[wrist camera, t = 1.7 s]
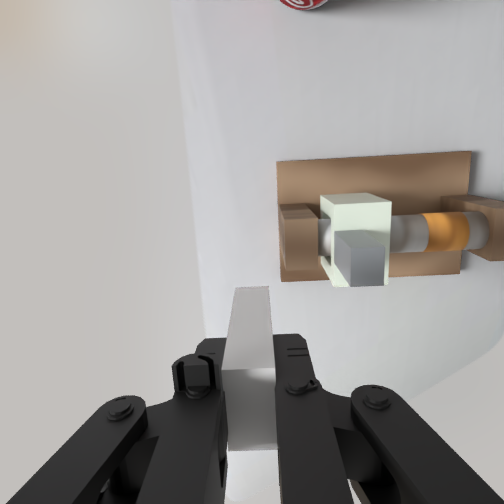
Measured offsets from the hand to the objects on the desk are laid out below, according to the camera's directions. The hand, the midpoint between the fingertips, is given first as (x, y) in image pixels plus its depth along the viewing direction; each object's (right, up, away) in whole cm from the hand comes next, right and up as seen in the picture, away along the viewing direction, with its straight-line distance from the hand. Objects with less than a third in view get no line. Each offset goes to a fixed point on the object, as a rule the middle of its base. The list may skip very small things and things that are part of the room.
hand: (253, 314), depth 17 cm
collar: (+8, +5, +16) cm, 18 cm away
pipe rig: (+12, +6, +20) cm, 24 cm away
